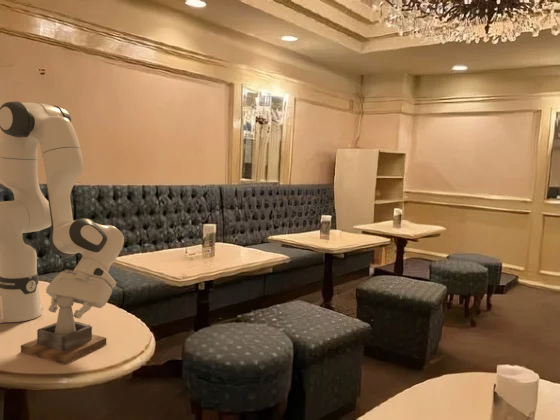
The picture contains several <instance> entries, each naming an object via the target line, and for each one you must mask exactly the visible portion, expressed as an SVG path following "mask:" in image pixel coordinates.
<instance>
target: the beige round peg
mask: <svg viewBox="0 0 560 420" xmlns="http://www.w3.org/2000/svg"><path fill="white" fill-rule="evenodd" d="M74 303H75V302H74V300H73V298H72V297H61V298H59V299H58V301H57V307H58V313H57V314H58V315H57V320H56V323H57V324H56V328H55V333H56V334H60V335H64V336H65V335H68V334H70V333H72V332H75V331H76V328H75V323H74V321H75V317H74V316H73V315H74V312H73V308H72V307H73V305H74Z"/></svg>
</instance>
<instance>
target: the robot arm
mask: <svg viewBox="0 0 560 420" xmlns="http://www.w3.org/2000/svg"><path fill="white" fill-rule="evenodd" d="M0 130H1V131H2V132H1V137H0V183H1V184H2V185H3V186H4V187H5V188H7V189H9V190H10V191H11V192H12V193H13V194H12V195H13V198H14V200H7V201H6V200H4V201H3V200H2V201H0V324H2V323H3V324H4V323H19V322H25V321H29V320H33V319H36V318H39V317H41V315H42V314H43V308H44V306H43V305H42V304H41V302H42V301H41V294H40V287H39V285H38V284H39V277H40V276H39V273H38V271H37V270H38V267H37V265H38V261H37V260H38V254H37V251H36V249H35V248H34V247H33V246H31V245H30V244H27V243H25V241H24V237H23V234H25V233H26V234H27V233H32V232H40V231H42V230H45V229H47V228H50V233H49V237H48V238H49V239H48V242H49V246H50V248H51V250H52V252H54V254H56V255H58V256H60V257H63V258H70V257H74V256H75V255H77V254H80V255H81V256H82V257H81V259H80V260H79V262H78V263H77V265H76V267H75V268H74V269H73V270H71V269H64V270H63V271H60V272H59V273H58V274H57V275H56V276H55V277H54V278H53V279H52V281H51V282H50V283H49V284H48V286H46V289H45V290H46V291H45V292H46V294H48V295H49V297H51V301H50V305H49V307H48V308H47V309H48V311H49V312H51V313H56V312H57V311H58V310H59V306H58V305H57V301H58V299H59V298H61V297H72V298H73V300H74V303H75V304H80V305H82V306H81V307H80V309H76V310H75V311H74V312H73V317H74V319H82V317H83V316H84V314H86V313H87V312H89V311H90V310H91V308H92V307H94V308H98V309H102V308H103V307H105V306H106V304H107V303H108V301H109V299H110V297H111V296H112V293H113V289H114V288H115V287H116V285H117V281H116V280H115V279H114V278H113V277H112V276H111V274H110V273H109V271H110V267H111V265H113V264H114V263H115V262H116V259H117V258H118V256H119V254H120V253H121V252H122V248H123V247H124V243H125V236H124V234H123V232H122V231H121V230H119V228H117V227H115V226H113V225H111V224H106V225H105V224H99V223H96V222H94V221H93V220H91V219H89V218H86V217H85V218H84V217H83V218H78V219H75V220H74V218H73V217H74V216H73V210H72V202H71V195H72V193H71V192H72V190H73V187H74V186H75V184H76V182H77V181H78V179H79V178H80V177H81V175H82V173H83V172H84V171H83V170H84V159H83V152H82V148H81V145H80V141H79V138H78V134H77V133H76V130H75V128H74V126H73V123H72V117H71V115H70V113H69V112H68V110H66V109H65V108H63V107H60V106H59V105H51V104H47V103H43V102H42V103H41V102H21V101H15V100H14V101H7V102H5V103H3V104H1V106H0ZM39 146H40V150H41V157H42V162H43V166H44V172H45V178H46V191H47V198H46V197H45V196H44V194H43V192H42V190H41V187H40V183H39V174H38V171H39V169H38V168H39V167H38V165H39V164H38V163H39V162H38V161H39V160H38V159H39V157H38V155H39V154H38V152H39V150H38V147H39Z"/></svg>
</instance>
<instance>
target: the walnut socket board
mask: <svg viewBox="0 0 560 420" xmlns="http://www.w3.org/2000/svg"><path fill="white" fill-rule="evenodd" d="M74 323H75V328H76V331H75V332H72V333H70V334H68V335H65V336H64V335H60V334H56V333H55V328H56V324H57V322H53V323H51V324H49V325H46V326H43V327H41V328H38V329H37V330H36V331H37V333H36V339H33V340H31V341H28V342H25V343H23V344H21V345H20V353H23V354H27V355H29V356H32V357H33V356H34V357H35V358H36V357H37V358H40V359H44V360H47V361H51V362H55V363H58V364H62V365H66V364H69V363H70V362H73V361H74V360H77V359H79V358H81V357H83V356H85V355H87V354H89V353H91V352H93V351H95V350H97V349H99V348H101V347H102V348H103V346H105V345H107V337H105V336H100V335H96V334H93V326H91V325H90V324H87V323H83V322H79V321H75V320H74Z"/></svg>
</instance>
